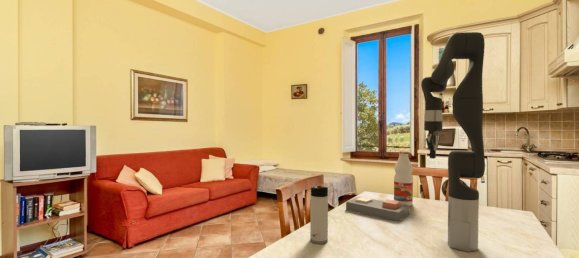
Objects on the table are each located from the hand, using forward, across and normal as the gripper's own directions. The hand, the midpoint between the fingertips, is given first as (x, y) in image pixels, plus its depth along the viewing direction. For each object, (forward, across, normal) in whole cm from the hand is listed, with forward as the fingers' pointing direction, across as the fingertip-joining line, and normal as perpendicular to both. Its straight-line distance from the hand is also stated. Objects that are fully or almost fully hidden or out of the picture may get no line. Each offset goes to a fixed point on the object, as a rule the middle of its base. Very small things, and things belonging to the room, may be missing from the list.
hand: (432, 158), depth 137 cm
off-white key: (+26, -10, +29) cm, 40 cm away
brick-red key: (+25, -10, +15) cm, 31 cm away
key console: (+27, -10, +22) cm, 36 cm away
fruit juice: (+27, +13, +18) cm, 35 cm away
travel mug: (+27, -58, +22) cm, 68 cm away
